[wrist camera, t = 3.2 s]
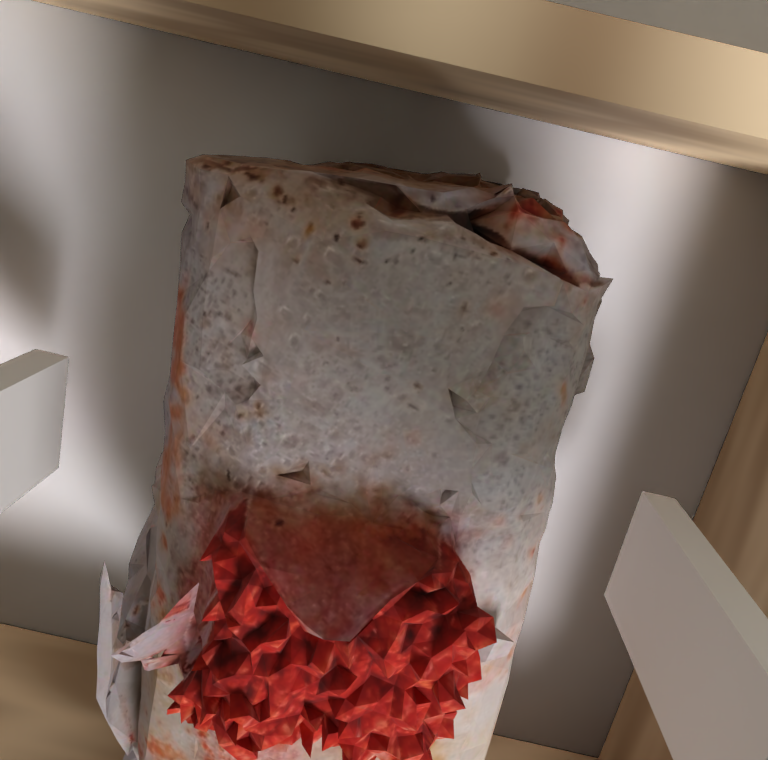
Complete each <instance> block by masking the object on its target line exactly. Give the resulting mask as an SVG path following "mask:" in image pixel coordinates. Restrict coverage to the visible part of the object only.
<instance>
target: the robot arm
mask: <svg viewBox="0 0 768 760" xmlns="http://www.w3.org/2000/svg"><path fill="white" fill-rule="evenodd" d="M68 364H69V357H68V356H64V355H59V354H55V353H51V352H47V351H42V350H38V349H34V350H32V351H30V352H27V353H25V354H23V355H21V356H18V357H16V358H14V359H11V360H9V361H7V362H5V363H2V364H0V514H1V513H2V512H3V511H4V510H6V509H7V508H8V507H9V506H11V505H12V504H13V503H15V502H16V501H17V500H18V499H20V498H21V497H22V496H23V495H25V494H26V493H27V492H28V491H30V490H31V489H32V488H34V487H35V486H36V485H37V484H39V483H40V482H41V481H42V480H44V479H45V478H46V477H48V476H49V475H50V474H51V473H53V472H54V471H55V470H56V469H58V468H59V458H60V448H61V437H62V427H63V416H64V406H65V395H66V385H67V374H68ZM604 596H605V599H606V601H607V603H608V606H609V608H610V611H611V613H612V615H613V618H614V620H615V622H616V625H617V627H618V630H619V632H620V634H621V637H622V639H623V642H624V644H625V646H626V649H627V651H628V653H629V656H630V658H631V661H632V663H633V665H634V668H635V670H636V672H637V675H638V677H639V680H640V682H641V684H642V687H643V689H644V692H645V694H646V696H647V699H648V701H649V703H650V706H651V708H652V711H653V713H654V715H655V718H656V720H657V722H658V725H659V727H660V730H661V732H662V734H663V737H664V739H665V742H666V744H667V746H668V749H669V751H670V753H671V756H672V758H673V760H768V618H767V617H766V616H765V614H764V613H763V612H762V610H761V609H760V608H759V607H758V605H757V604H756V603H755V601H754V600H753V599H752V597H751V596H750V595H749V594H748V592H747V591H746V590H745V588H744V587H743V586H742V584H741V583H740V582H739V581H738V579H737V578H736V577H735V575H734V574H733V573H732V571H731V570H730V569H729V568H728V566H727V565H726V564H725V562H724V561H723V560H722V558H721V557H720V556H719V554H718V553H717V552H716V551H715V549H714V548H713V547H712V545H711V544H710V543H709V541H708V540H707V539H706V538H705V536H704V535H703V534H702V532H701V531H700V530H699V528H698V527H697V526H696V525H695V523H694V522H693V521H692V519H691V518H690V517H689V515H688V514H687V513H686V512H685V510H684V509H683V508H682V506H681V505H680V504H679V502H678V501H677V500H676V499H675V498H671V497H667V496H662V495H658V494H654V493H650V492H645V491H642V493H641V496H640V498H639V501H638V504H637V506H636V509H635V512H634V515H633V517H632V520H631V523H630V525H629V528H628V531H627V534H626V536H625V539H624V542H623V544H622V547H621V550H620V553H619V555H618V558H617V561H616V563H615V566H614V569H613V571H612V574H611V577H610V580H609V582H608V585H607V588H606V590H605V593H604Z"/></svg>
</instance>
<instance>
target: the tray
mask: <svg viewBox="0 0 768 760" xmlns="http://www.w3.org/2000/svg"><path fill="white" fill-rule="evenodd" d="M33 1H37V2H41V3H45V4H50V5H54V6H58V7H62V8H66V9H71V10H75V11H79V12H83V13H87V14H92V15H96V16H100V17H104V18H109V19H113V20H117V21H121V22H125V23H130V24H134V25H138V26H142V27H147V28H151V29H155V30H159V31H163V32H168V33H172V34H176V35H180V36H184V37H189V38H193V39H197V40H201V41H206V42H210V43H214V44H218V45H222V46H227V47H231V48H235V49H239V50H243V51H248V52H252V53H256V54H260V55H265V56H269V57H273V58H277V59H281V60H286V61H290V62H294V63H298V64H303V65H307V66H311V67H315V68H319V69H324V70H328V71H332V72H336V73H340V74H345V75H349V76H353V77H357V78H362V79H366V80H370V81H374V82H378V83H383V84H387V85H391V86H395V87H400V88H404V89H408V90H412V91H416V92H421V93H425V94H429V95H433V96H437V97H442V98H446V99H450V100H454V101H459V102H463V103H467V104H471V105H475V106H480V107H484V108H488V109H492V110H496V111H501V112H505V113H509V114H513V115H518V116H522V117H526V118H530V119H534V120H539V121H543V122H547V123H551V124H556V125H560V126H564V127H568V128H572V129H577V130H581V131H585V132H589V133H593V134H598V135H602V136H606V137H610V138H615V139H619V140H623V141H627V142H631V143H636V144H640V145H644V146H648V147H653V148H657V149H661V150H665V151H669V152H674V153H678V154H682V155H686V156H690V157H695V158H699V159H703V160H707V161H712V162H716V163H720V164H724V165H728V166H733V167H737V168H741V169H745V170H749V171H754V172H758V173H762V174H766V175H768V54H767V53H763V52H759V51H754V50H750V49H746V48H742V47H738V46H734V45H729V44H725V43H721V42H717V41H713V40H709V39H704V38H700V37H696V36H692V35H688V34H683V33H679V32H675V31H671V30H667V29H663V28H658V27H654V26H650V25H646V24H642V23H638V22H633V21H629V20H625V19H621V18H617V17H612V16H608V15H604V14H600V13H596V12H592V11H587V10H583V9H579V8H575V7H571V6H567V5H562V4H558V3H554V2H550V1H546V0H33ZM693 522H694V523H695V525H696V526H697V527H698V528H699V530H700V531H701V532H702V534H703V535H704V536H705V538H706V539H707V540H708V541H709V543H710V544H711V545H712V547H713V548H714V549H715V551H716V552H717V553H718V554H719V556H720V557H721V558H722V560H723V561H724V562H725V564H726V565H727V566H728V568H729V569H730V570H731V571H732V573H733V574H734V575H735V577H736V578H737V579H738V581H739V582H740V583H741V584H742V586H743V587H744V588H745V590H746V591H747V592H748V594H749V595H750V596H751V597H752V599H753V600H754V601H755V603H756V604H757V605H758V607H759V608H760V609H761V610H762V612H763V613H764V614H765V616H766V617H767V618H768V333H767V335H766V338H765V340H764V343H763V345H762V348H761V350H760V353H759V355H758V358H757V360H756V363H755V365H754V368H753V370H752V373H751V375H750V378H749V380H748V383H747V385H746V388H745V390H744V393H743V396H742V398H741V401H740V403H739V406H738V408H737V411H736V413H735V416H734V418H733V421H732V423H731V426H730V428H729V431H728V433H727V436H726V438H725V441H724V443H723V446H722V448H721V451H720V453H719V456H718V458H717V461H716V463H715V466H714V468H713V471H712V474H711V476H710V479H709V481H708V484H707V486H706V489H705V491H704V494H703V496H702V499H701V501H700V504H699V506H698V509H697V511H696V514H695V516H694V519H693ZM96 691H97V645H94V644H90V643H85V642H81V641H76V640H72V639H68V638H63V637H59V636H54V635H50V634H45V633H41V632H36V631H32V630H28V629H23V628H19V627H14V626H10V625H5V624H1V623H0V760H123V757H124V755H125V751H124V750H123V748H122V747H121V745H120V744H119V742H118V741H117V739H116V738H115V736H114V734H113V732H112V730H111V728H110V726H109V724H108V722H107V721H106V718H105V716H104V714H103V712H102V710H101V708H100V706H99V703H98V701H97V699H96ZM485 760H673V758H672V756H671V753H670V751H669V749H668V746H667V744H666V742H665V739H664V737H663V734H662V732H661V730H660V727H659V725H658V722H657V720H656V718H655V715H654V713H653V711H652V708H651V706H650V703H649V701H648V699H647V696H646V694H645V692H644V689H643V687H642V684H641V682H640V680H639V677H638V675H637V672H636V670H635V668H634V670H633V672H632V675H631V677H630V680H629V682H628V685H627V687H626V690H625V692H624V695H623V697H622V700H621V703H620V705H619V708H618V710H617V713H616V715H615V718H614V720H613V723H612V725H611V728H610V730H609V733H608V735H607V738H606V740H605V743H604V745H603V748H602V750H601V753H600V755H599V758H595V757H591V756H586V755H582V754H577V753H573V752H569V751H564V750H560V749H555V748H551V747H546V746H542V745H538V744H533V743H529V742H524V741H520V740H515V739H511V738H507V737H502V736H498V735H492V738H491V741H490V744H489V747H488V751H487V754H486V757H485Z"/></svg>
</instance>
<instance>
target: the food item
mask: <svg viewBox="0 0 768 760" xmlns="http://www.w3.org/2000/svg"><path fill="white" fill-rule="evenodd" d="M181 202H182V204H183V205H184V206H185V208H186V209H187V210H188V212H189V213H190V216H189V218H188V220H187V223H186V225H185V227H184V229H183V231H182V238H181V259H180V273H179V285H178V297H177V307H176V316H175V326H174V336H173V345H172V358H171V370H170V377H169V381H168V385H167V389H166V393H165V397H164V401H163V402H164V418H165V439H164V450H163V452H162V453H161V456H160V459H159V461H158V464H157V467H156V475H155V483H154V484H153V485H152V490H153V497H154V501H155V505H154V507H153V509H152V511H151V513H150V515H149V517H148V519H147V521H146V523H145V525H144V527H143V529H142V531H141V533H140V535H139V537H138V540H137V543H136V546H135V549H134V551H133V554H132V557H131V560H130V562H129V580H128V583H127V586H126V590H125V593H124V596H123V592H121V591H120V590H118V589H117V588H115V587H113V586H112V585H110V582H109V577H108V573H107V569H106V564H105V561H104V564H103V568H102V572H101V575H100V622H99V633H98V644H97V691H96V699H97V701H98V703H99V706H100V708H101V710H102V712H103V714H104V716H105V718H106V721H107V722H108V724H109V726H110V728H111V730H112V732H113V734H114V736H115V738H116V739H117V741H118V742H119V744H120V745H121V747H122V748H123V750H124V751H125V755H124V757H123V760H485V757H486V754H487V751H488V747H489V744H490V741H491V738H492V735H493V731H494V728H495V725H496V721H497V718H498V715H499V711H500V708H501V705H502V701H503V698H504V694H505V691H506V688H507V684H508V681H509V676H510V671H511V665H512V660H513V655H514V650H515V647H516V644H517V640H518V637H519V634H520V631H521V628H522V625H523V622H524V617H525V613H526V609H527V605H528V601H529V596H530V592H531V588H532V584H533V580H534V575H535V569H536V563H537V556H538V549H539V543H540V540H541V538H542V536H543V533H544V531H545V529H546V525H547V520H548V516H549V512H550V509H551V506H552V503H553V496H554V488H555V480H556V473H555V466H554V464H555V452H556V449H557V445H558V442H559V438H560V434H561V431H562V427H563V425H564V422H565V420H566V417H567V415H568V412H569V410H570V407H571V405H572V401H573V398H574V395H576V394H579V393H582V392H584V391H585V388H586V384H587V381H588V378H589V374H590V371H591V367H592V364H593V360H594V356H593V353H592V350H591V347H590V339H591V334H592V328H593V323H594V319H595V316H596V314H597V311H598V309H599V307H600V304H601V302H602V301H601V298H602V296H603V295H604V293H605V291H606V290H607V288H608V287H609V285H610V283H611V282H612V280H613V279H611V278H602V277H600V273H599V272H598V265H597V263H596V261H595V260H594V258H593V257H592V255H591V254H590V252H589V250H588V248H587V246H586V244H585V242H584V240H583V238H582V236H581V235H580V234H578V233H576V232H575V231H573V230H572V229H571V228H570V227H569V226H568V222H569V220H568V219H567V218H566V217H565V216H564V215H563V210H562V209H560V208H558V207H556V206H554V205H552V203H550V202H549V201H547V200H546V199H542V198H540V195H539V193H537V192H534V191H530V190H526V189H524V188H522V189H519V188H513V187H512V184H508V185H503V184H499V183H493V182H487V181H482V180H481V175H480V173H478V174H477V175H475V174H448V173H445V172H439V173H432V174H420V173H415V172H409V171H403V170H397V169H392V168H388V167H384V166H379V165H375V164H367V163H352V162H343V163H335V162H325V163H319V164H314V165H302V164H298V163H294V162H292V161H288V160H280V159H272V158H262V157H246V156H229V155H200V156H197V157H194V158H191V159H187V160H186V177H185V185H184V190H183V195H182V200H181Z"/></svg>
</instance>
